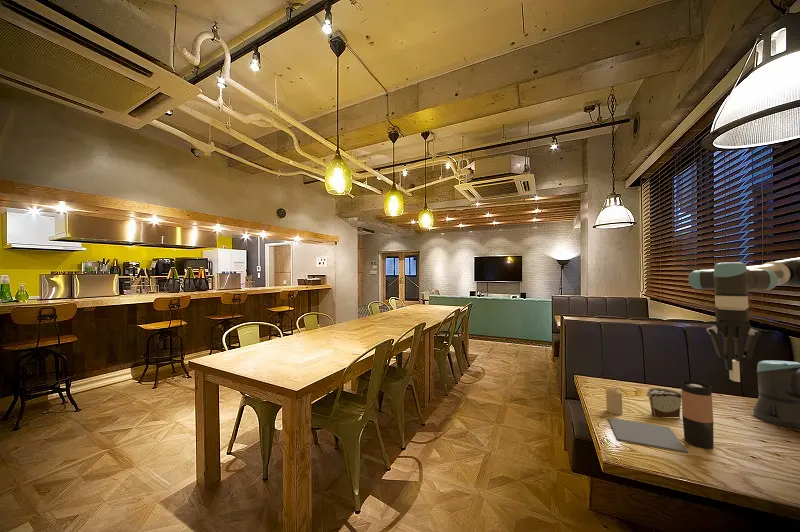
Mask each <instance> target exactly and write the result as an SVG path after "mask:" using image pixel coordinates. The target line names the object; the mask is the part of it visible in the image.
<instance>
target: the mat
mask: <svg viewBox="0 0 800 532" xmlns="http://www.w3.org/2000/svg"><path fill="white" fill-rule="evenodd" d="M607 418H608V421H609V423H610V427H611V428H612V431H613V433H614V436H615V438H616V440H617V441H619V442H625V443H629V444H635V443H636V445H640V444H641V446H646V445H647V446H646V447H651V446H652V448H656V447H658V448H657V449H662V448H664V450H667V449H669V451H673V452H678V453H679V452H680V453H684V454H689V451H688V449H687V448H686V446H684V444H683V443H682V442H681V440H679V438H678V437H677V436H676V434H675V432H673V430H672V429H671V428H670V426H664V425H658V424H652V423H651V424H650V423H645V422H640V421H633V420H632V421H631V420H625V419H620V418H613V417H607Z"/></svg>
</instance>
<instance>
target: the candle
mask: <svg viewBox="0 0 800 532" xmlns="http://www.w3.org/2000/svg"><path fill="white" fill-rule="evenodd" d="M605 398H606V401H605V402H606V411H607V412H608V413H611V414H613V415H618V414H620V415H623V392H622V391H621V390H620V388H619V387H610V386H609V387H608V388H607V389H606V390H605Z"/></svg>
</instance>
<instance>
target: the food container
mask: <svg viewBox="0 0 800 532" xmlns="http://www.w3.org/2000/svg"><path fill="white" fill-rule="evenodd" d="M646 395H647V397H648V399H649V403H650V410H651V415H653V416H654V417H653V418H655V417H679V418H678V419H681V418H680V417H681V408H682V392H680V391H676V390H672V389H667V388H662V387H661V388H660V387H651V388H648V390H647V392H646Z"/></svg>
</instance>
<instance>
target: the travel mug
mask: <svg viewBox="0 0 800 532" xmlns="http://www.w3.org/2000/svg"><path fill="white" fill-rule="evenodd" d="M680 384H681V386H680V387H681V395H682V398H681V413H682V414H681V415H682V416H681V417H682V425H683V427H682V428H683V437H684V438H683V439H684V441H686V442H685V443H687V444H688V445H691V446H693V447H695V448H698V449H702V448H703V449H702V450H713V449H714V412H713V411H714V410H713V396H712V395H713V394H712V393H713V392H712V386H711V385H709V384H707V383H704V382H700V381H699V382H698V381H693V380H681V383H680Z"/></svg>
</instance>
